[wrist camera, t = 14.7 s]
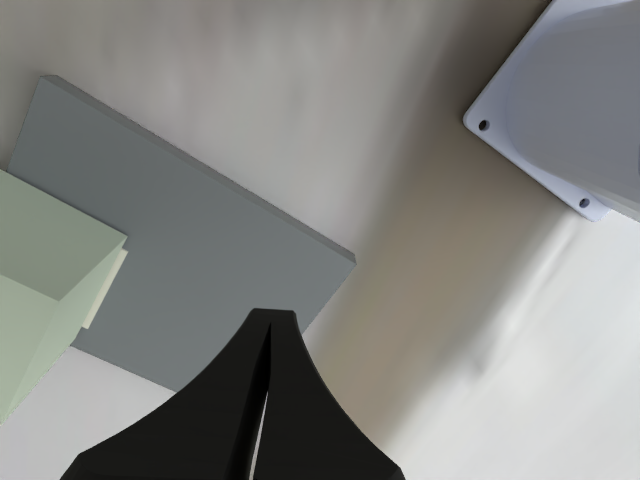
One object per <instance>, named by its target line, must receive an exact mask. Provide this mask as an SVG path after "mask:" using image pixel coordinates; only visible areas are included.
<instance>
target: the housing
mask: <svg viewBox="0 0 640 480" xmlns="http://www.w3.org/2000/svg"><path fill="white" fill-rule="evenodd" d="M127 237H128V236H126V235H125V234H123V233H121V232H119V231H117V230H115V229H113V228H111V227H109V226H107V225H106V224H104V223H102V222H100V221H98V220H96V219H94V218H92V217H90V216H88V215H86V214H85V213H83V212H81V211H79V210H77V209H75V208H73V207H71V206H69V205H67V204H66V203H64V202H62V201H60V200H58V199H56V198H54V197H52V196H50V195H48V194H47V193H45V192H43V191H41V190H39V189H37V188H35V187H33V186H31V185H29V184H28V183H26V182H24V181H22V180H20V179H18V178H16V177H14V176H12V175H10V174H9V173H7V172H5V171H3V170H1V169H0V426H1V425H2V424H3V423H4V422H5V421H6V419H7V418H8V417H9V416H10V415H11V414H12V412H13V411H14V410H15V409H16V408H17V407H18V405H19V404H20V403H21V402H22V401H23V399H24V398H25V397H26V396H27V395H28V394H29V392H30V391H31V390H32V389H33V388H34V387H35V385H36V384H37V383H38V382H39V381H40V379H41V378H42V377H43V376H44V375H45V374H46V372H47V371H48V370H49V369H50V368H51V367H52V365H53V364H54V363H55V362H56V361H57V360H58V358H59V357H60V356H61V355H62V354H63V352H64V351H65V350H66V349H67V348H68V347H69V345H70V344H71V343H72V342H73V341H74V340H75V338H76V336H77V334H78V332H79V330H80V328H81V326H82V324H83V322H84V321H85V319H86V317H87V315H88V313H89V311H90V309H91V307H92V305H93V303H94V301H95V299H96V297H97V295H98V293H99V291H100V289H101V287H102V285H103V283H104V281H105V280H106V278H107V276H108V274H109V272H110V270H111V268H112V266H113V264H114V262H115V260H116V258H117V256H118V254H119V252H120V250H121V248H122V246H123V244H124V242H125V241H126V239H127Z"/></svg>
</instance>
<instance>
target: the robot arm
mask: <svg viewBox="0 0 640 480" xmlns="http://www.w3.org/2000/svg"><path fill="white" fill-rule="evenodd" d="M482 120H485V121H486V127H485V128H484V129H483V130H480V129H479V123H480V122H481V121H482ZM463 123H464V125H465V127H466V128H468V129H469V130H470V131H471V132H473V133H474V134H475V135H477V136H478V137H479V138H481V139H482V140H483V141H485V142H486V143H487V144H489V145H490V146H491V147H493V148H494V149H495V150H497V151H498V152H499V153H500V154H502V155H503V156H504V157H506V158H507V159H508V160H510V161H511V162H512V163H514V164H515V165H516V166H518V167H519V168H520V169H522V170H523V171H524V172H525V173H527V174H528V175H529V176H531V177H532V178H533V179H535V180H536V181H537V182H539V183H540V184H541V185H543V186H544V187H545V188H547V189H548V190H549V191H550V192H552V193H553V194H554V195H556V196H557V197H558V198H560V199H561V200H562V201H564V202H565V203H566V204H568V205H569V206H570V207H572V208H573V209H574V210H575V211H577V212H578V213H579V214H581V215H582V216H583V217H585V218H586V219H588V220H590V221H592V222H596V221H599V220H601V219H602V218H604V217H605V216H606V215H607V214H608V213H609V212H610V211H611V210H612V209H613V210H615V211H617V212H619V213H621V214H623V215H625V216H627V217H629V218H632V219H634V220H636V221H638V222H640V0H552V1H551V3H550V4H549V5H548V6H547V8H546V9H545V10H544V12H543V13H542V14H541V16H540V17H539V18H538V19H537V21H536V22H535V23H534V25H533V26H532V27H531V28H530V30H529V31H528V32H527V34H526V35H525V36H524V38H523V39H522V40H521V41H520V43H519V44H518V45H517V47H516V48H515V49H514V51H513V52H512V53H511V54H510V56H509V57H508V58H507V60H506V61H505V62H504V64H503V65H502V66H501V67H500V69H499V70H498V71H497V73H496V74H495V75H494V76H493V78H492V79H491V80H490V82H489V83H488V84H487V86H486V87H485V88H484V89H483V91H482V92H481V93H480V95H479V96H478V97H477V99H476V100H475V101H474V102H473V104H472V105H471V106H470V108H469V109H468V110H467V111H466V113H465V115H464V117H463ZM584 198H585V201H584V203H583V204H582V205H579V203H580V201H581V200H582V199H584ZM267 391H268V396H267ZM266 396H267V402H266V409H265V415H264V421H263V427H262V433H261V438H260V444H259V449H258V454H257V460H256V465H255V470H254V475H253V480H405V477H404V475H403V473H402V471H401V468H400V467H399V466H398V465H397V464H395V463H394V462H393V461H392V460H391V459H390V458H389V457H387V456H386V455H385V454H384V453H383V452H382V451H381V450H380V449H378V448H377V447H376V446H375V445H374V444H373V443H372V442H371V441H370V440H369V439H368V438H367V437H366V436H365V435H364V434H363V433H362V432H361V430H360V429H359V428H358V427H357V426H356V425H355V423H354V422H353V421H352V420H351V419H350V417H349V416H348V415H347V414H346V413H345V411H344V410H343V409H342V408H341V406H340V405H339V404H338V402H337V401H336V400H335V398H334V397H333V395H332V394H331V392H330V391H329V389H328V388H327V386H326V385H325V383H324V381H323V380H322V378H321V376H320V375H319V373H318V371H317V369H316V367H315V365H314V363H313V361H312V359H311V357H310V355H309V353H308V351H307V348H306V346H305V344H304V341H303V339H302V336H301V333H300V330H299V326H298V323H297V317H296V313H295V312H294V311H293V310H279V309H263V308H253V309H252V310H251V311H250V312H249V314H248V316H247V317H246V319H245V320H244V322H243V323H242V325H241V326H240V328H239V329H238V330H237V332H236V333H235V334H234V335H233V337H232V338H231V339H230V340H229V342H228V343H227V344H226V345H225V347H224V348H223V349H222V350H221V351H220V352H219V353H218V354H217V356H216V357H215V358H214V359H213V360H212V361H211V362H210V363H209V364H208V365H207V366H206V367H205V368H204V369H203V370H202V371H201V372H200V373H199V374H198V375H197V376H196V377H195V378H194V379H193V380H191V381H190V382H189V383H188V384H187V385H186V386H185V387H184V388H182V389H181V390H180V391H179V392H177V393H176V394H175V395H174V396H172V397H171V398H170V399H169V400H167V401H166V402H165V403H163V404H162V405H161V406H159V407H158V408H157V409H155V410H154V411H152V412H151V413H149V414H148V415H146V416H145V417H143V418H142V419H140V420H139V421H137V422H136V423H134V424H133V425H131V426H129V427H128V428H126V429H124V430H123V431H121V432H119V433H118V434H116V435H114V436H112V437H110V438H108V439H106V440H105V441H103V442H101V443H99V444H97V445H95V446H93V447H92V448H90V449H88V450H86V451H84V452H82V453H80V454H78V456H77V457H76V458H75V460H74V461H73V463H72V464H71V465H70V467H69V468H68V469H67V470H66V472H65V473H64V474H63V476H62V477H61V479H60V480H249V476H250V470H251V464H252V459H253V454H254V450H255V445H256V441H257V436H258V432H259V427H260V423H261V418H262V414H263V409H264V405H265V400H266Z"/></svg>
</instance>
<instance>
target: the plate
mask: <svg viewBox="0 0 640 480" xmlns="http://www.w3.org/2000/svg"><path fill="white" fill-rule="evenodd" d="M6 172H7V173H9V174H10V175H12V176H14V177H16V178H18V179H20V180H22V181H24V182H26V183H28V184H29V185H31V186H33V187H35V188H37V189H39V190H41V191H43V192H45V193H47V194H48V195H50V196H52V197H54V198H56V199H58V200H60V201H62V202H64V203H66V204H67V205H69V206H71V207H73V208H75V209H77V210H79V211H81V212H83V213H85V214H86V215H88V216H90V217H92V218H94V219H96V220H98V221H100V222H102V223H104V224H106V225H107V226H109V227H111V228H113V229H115V230H117V231H119V232H121V233H123V234H125V235H126V236H128V237H127V239H126V241H125V242H124V244H123V246H122V248H121V250H120V252H119V254H118V256H117V258H116V260H115V262H114V264H113V266H112V268H111V270H110V272H109V274H108V276H107V278H106V280H105V281H104V283H103V285H102V287H101V289H100V291H99V293H98V295H97V297H96V299H95V301H94V303H93V305H92V307H91V309H90V311H89V313H88V315H87V317H86V319H85V321H84V322H83V324H82V326H81V328H80V330H79V332H78V334H77V336H76V338H75V340H74V341H73V342H72V343H71V344H70V346H72V347H75V348H77V349H79V350H82V351H84V352H86V353H88V354H91V355H93V356H95V357H97V358H100V359H102V360H104V361H107V362H109V363H111V364H113V365H116V366H118V367H120V368H122V369H125V370H127V371H129V372H132V373H134V374H136V375H138V376H141V377H143V378H145V379H148V380H150V381H152V382H154V383H157V384H159V385H161V386H163V387H166V388H168V389H170V390H173V391H175V392H179V391H180V390H181V389H182V388H184V387H185V386H186V385H187V384H188V383H189V382H190V381H191V380H193V379H194V378H195V377H196V376H197V375H198V374H199V373H200V372H201V371H202V370H203V369H204V368H205V367H206V366H207V365H208V364H209V363H210V362H211V361H212V360H213V359H214V358H215V357H216V356H217V354H218V353H219V352H220V351H221V350H222V349H223V348H224V347H225V345H226V344H227V343H228V342H229V340H230V339H231V338H232V337H233V335H234V334H235V333H236V332H237V330H238V329H239V328H240V326H241V325H242V323H243V322H244V320H245V319H246V317H247V316H248V314H249V312H250V311H251V310H252V309H253V308H263V309H279V310H293V311H294V312H295V313H296V317H297V323H298V326H299V330H300V333H301V335H302V334H303V333H304V331H305V330H306V329H307V327H308V326H309V325H310V324H311V322H312V321H313V320H314V318H315V317H316V316H317V315H318V313H319V312H320V311H321V309H322V308H323V307H324V306H325V304H326V303H327V302H328V300H329V299H330V298H331V297H332V295H333V294H334V293H335V292H336V290H337V289H338V288H339V286H340V285H341V284H342V283H343V281H344V280H345V279H346V277H347V276H348V275H349V274H350V272H351V271H352V270H353V268H354V267H355V266H356V265H357V264H356V260H355V255H354V254H353V253H351V252H349V251H348V250H346V249H344V248H343V247H341V246H339V245H338V244H336V243H334V242H333V241H331V240H329V239H328V238H326V237H324V236H323V235H321V234H319V233H318V232H316V231H314V230H313V229H311V228H309V227H308V226H306V225H305V224H303V223H301V222H300V221H298V220H296V219H295V218H293V217H291V216H290V215H288V214H286V213H285V212H283V211H281V210H280V209H278V208H276V207H275V206H273V205H271V204H270V203H268V202H266V201H265V200H263V199H261V198H260V197H258V196H256V195H255V194H253V193H251V192H250V191H248V190H246V189H245V188H243V187H241V186H240V185H238V184H236V183H235V182H233V181H231V180H230V179H228V178H226V177H225V176H223V175H221V174H220V173H218V172H216V171H215V170H213V169H211V168H210V167H208V166H206V165H205V164H203V163H201V162H200V161H198V160H196V159H195V158H193V157H191V156H190V155H188V154H186V153H185V152H183V151H181V150H180V149H178V148H176V147H175V146H173V145H171V144H170V143H168V142H166V141H165V140H163V139H161V138H160V137H158V136H156V135H155V134H153V133H151V132H150V131H148V130H146V129H145V128H143V127H141V126H140V125H138V124H137V123H135V122H133V121H132V120H130V119H128V118H127V117H125V116H123V115H122V114H120V113H118V112H117V111H115V110H113V109H112V108H110V107H108V106H107V105H105V104H103V103H102V102H100V101H98V100H97V99H95V98H93V97H92V96H90V95H88V94H87V93H85V92H83V91H82V90H80V89H78V88H77V87H75V86H73V85H72V84H70V83H68V82H67V81H65V80H63V79H62V78H60V77H58V76H40V78H39V81H38V84H37V87H36V90H35V92H34V95H33V98H32V101H31V104H30V106H29V109H28V112H27V115H26V118H25V120H24V123H23V126H22V129H21V131H20V134H19V137H18V140H17V143H16V145H15V148H14V151H13V154H12V157H11V159H10V162H9V165H8V168H7V171H6Z"/></svg>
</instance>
